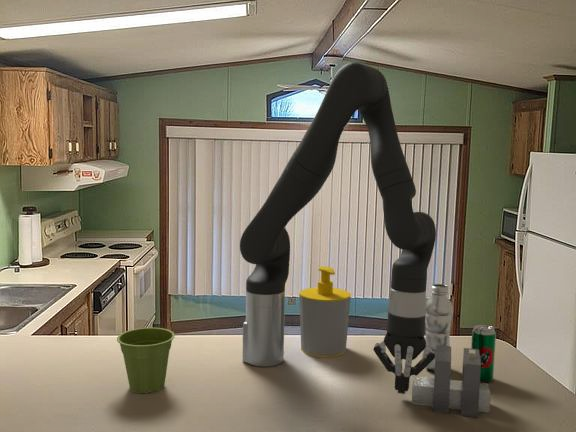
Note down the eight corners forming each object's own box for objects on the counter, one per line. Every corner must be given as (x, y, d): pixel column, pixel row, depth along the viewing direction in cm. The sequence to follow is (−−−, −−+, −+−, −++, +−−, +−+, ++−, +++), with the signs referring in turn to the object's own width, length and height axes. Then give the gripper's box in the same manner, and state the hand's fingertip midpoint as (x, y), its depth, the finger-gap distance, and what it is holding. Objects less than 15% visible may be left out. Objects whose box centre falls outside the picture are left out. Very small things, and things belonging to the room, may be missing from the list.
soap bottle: (314, 361, 145) (316, 275, 142) (289, 345, 156) (290, 265, 154) (359, 353, 151) (362, 270, 148) (332, 338, 162) (334, 261, 160)
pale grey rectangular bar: (411, 404, 122) (412, 385, 122) (412, 394, 127) (412, 376, 127) (489, 412, 119) (490, 393, 118) (486, 402, 124) (487, 383, 123)
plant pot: (123, 377, 133) (122, 327, 132) (177, 376, 135) (177, 327, 133) (112, 399, 122) (111, 345, 120) (172, 398, 123) (171, 344, 121)
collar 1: (432, 411, 119) (435, 360, 118) (434, 392, 128) (436, 345, 127) (448, 413, 118) (451, 362, 117) (448, 394, 127) (451, 346, 126)
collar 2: (461, 415, 117) (464, 358, 116) (461, 396, 126) (464, 343, 125) (477, 417, 117) (481, 360, 115) (476, 398, 126) (479, 344, 124)
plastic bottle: (451, 375, 138) (456, 290, 135) (421, 372, 139) (425, 288, 137) (450, 365, 144) (454, 283, 142) (421, 363, 145) (424, 281, 143)
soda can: (497, 380, 135) (501, 328, 134) (482, 385, 133) (485, 332, 131) (480, 373, 140) (483, 322, 138) (464, 377, 137) (467, 325, 136)
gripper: (371, 311, 120) (367, 394, 123) (439, 319, 117) (433, 404, 119) (376, 302, 127) (372, 380, 130) (440, 309, 124) (435, 389, 126)
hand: (401, 391), depth 124 cm, fingers closed
